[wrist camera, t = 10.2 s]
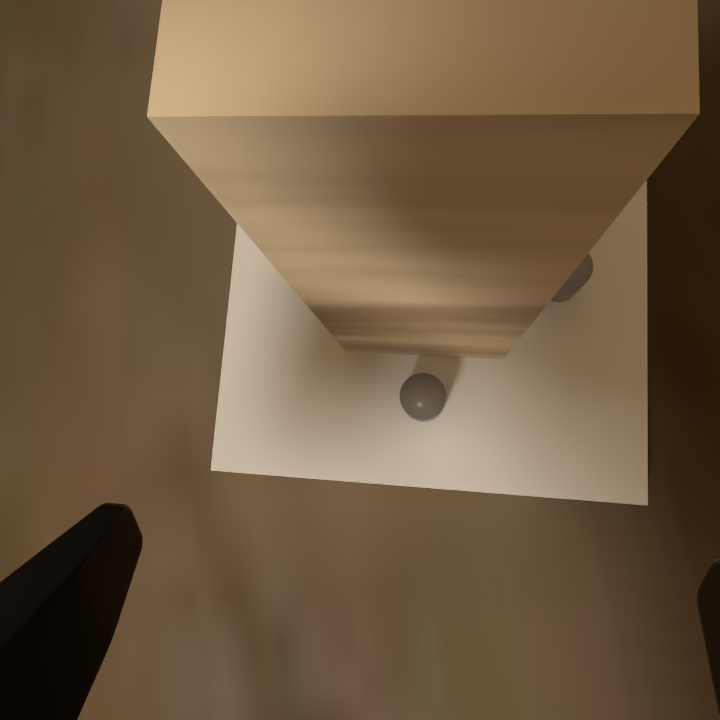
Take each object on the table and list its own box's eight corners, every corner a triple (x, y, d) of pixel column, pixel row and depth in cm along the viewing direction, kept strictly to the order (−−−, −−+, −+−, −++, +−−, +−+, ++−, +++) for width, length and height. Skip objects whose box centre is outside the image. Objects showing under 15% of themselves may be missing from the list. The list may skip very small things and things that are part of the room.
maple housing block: (502, 359, 19) (699, 114, 5) (346, 352, 19) (146, 116, 6) (507, 208, 20) (689, -358, 6) (356, 206, 20) (203, -307, 7)
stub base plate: (634, 501, 19) (668, 510, 16) (223, 469, 21) (191, 472, 18) (634, 107, 21) (665, 54, 18) (260, 109, 23) (237, 61, 20)
